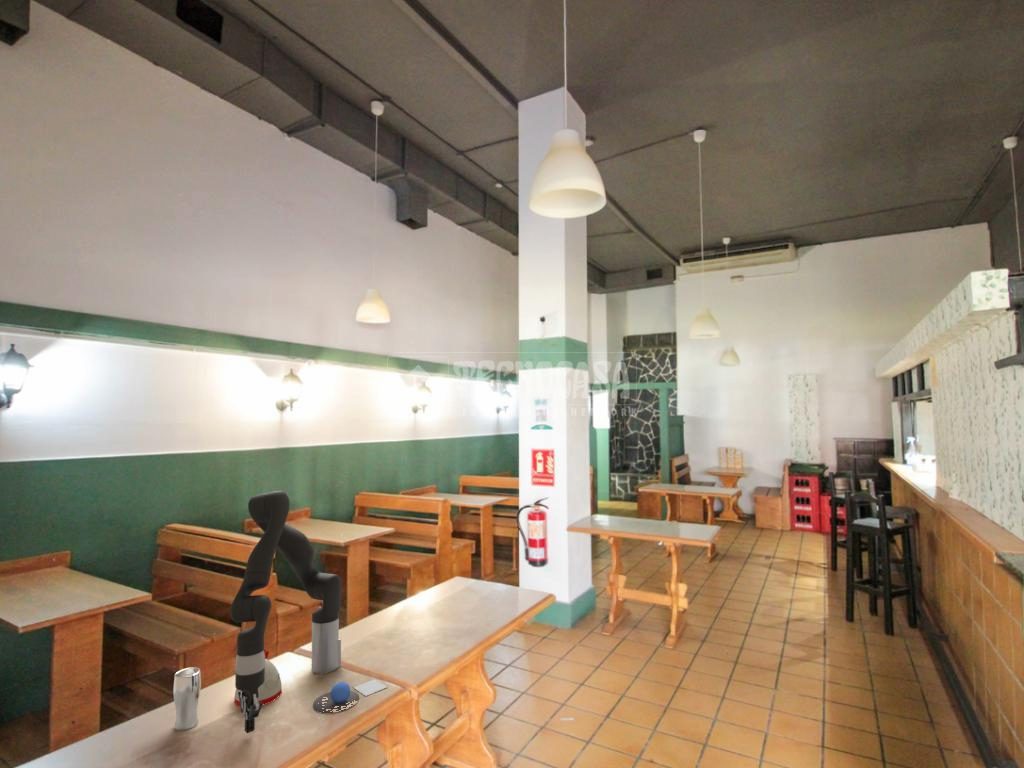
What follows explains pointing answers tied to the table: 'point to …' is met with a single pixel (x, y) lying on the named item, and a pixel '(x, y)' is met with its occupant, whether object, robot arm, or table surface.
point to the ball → (340, 692)
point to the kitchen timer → (267, 684)
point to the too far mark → (370, 687)
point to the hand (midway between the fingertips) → (249, 731)
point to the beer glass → (186, 697)
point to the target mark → (331, 703)
